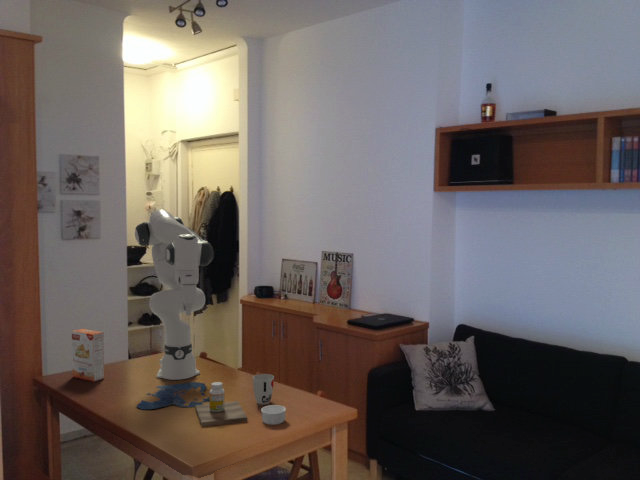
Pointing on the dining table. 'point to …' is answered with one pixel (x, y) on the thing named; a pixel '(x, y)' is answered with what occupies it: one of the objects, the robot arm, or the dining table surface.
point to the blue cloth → (173, 396)
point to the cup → (263, 388)
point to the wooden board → (221, 414)
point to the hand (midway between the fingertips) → (187, 312)
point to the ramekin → (273, 414)
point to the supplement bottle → (217, 397)
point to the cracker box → (88, 354)
